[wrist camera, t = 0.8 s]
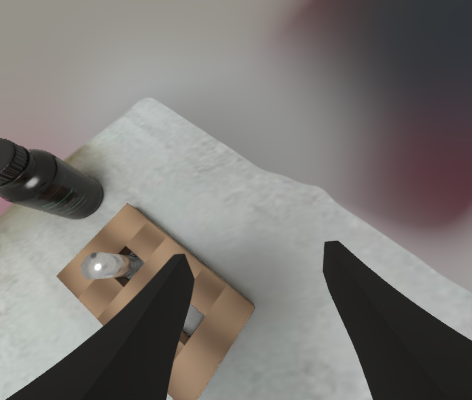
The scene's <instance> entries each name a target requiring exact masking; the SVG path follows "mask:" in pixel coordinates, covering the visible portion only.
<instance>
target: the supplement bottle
mask: <svg viewBox="0 0 472 400" xmlns="http://www.w3.org/2000/svg"><path fill="white" fill-rule="evenodd" d="M102 195H103V192H102V188H101V186H100V184H99V183H98V182H97V181H95V180H94V179H92V178H91V177H89V176H87V175H86V174H84V173H83V172H81V171H79V170H78V169H76V168H74V167H73V166H71V165H69V164H68V163H66V162H64V161H63V160H61V159H59V158H57V157H56V156H54V155H53V154H51V153H49V152H46V151H43V150H38V149H26V148H24V147H22V146H19V145H17V144H15V143H13V142H11V141H9V140H7V139H2V138H0V197H1V198H3V199H4V200H6V201H9V202H12V203H15V204H18V205H22V206H25V207H29V208H32V209H36V210H39V211H43V212H46V213H50V214H54V215H57V216H61V217H64V218H68V219H80V218H83V217H86V216H88V215H90V214H91V213H93V212H94V211H95V210H96V209H97V208H98V206H99V205H100V203H101V200H102Z"/></svg>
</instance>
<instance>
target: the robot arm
mask: <svg viewBox="0 0 472 400" xmlns="http://www.w3.org/2000/svg"><path fill="white" fill-rule="evenodd" d="M323 273H324V277H325V280H326V283H327V286H328V289H329V292H330V294H331V296H332V299H333V301H334V303H335V305H336V308H337V310H338V312H339V314H340V317H341V319H342V321H343V323H344V325H345V328H346V330H347V332H348V334H349V336H350V339H351V341H352V343H353V346H354V348H355V350H356V353H357V355H358V358H359V361H360V364H361V366H362V369H363V372H364V375H365V378H366V380H367V383H368V386H369V389H370V392H371V395H372V398H373V400H472V341H471V340H470V339H468V338H466V337H465V336H463V335H462V334H460V333H458V332H457V331H455V330H454V329H452V328H450V327H449V326H447V325H446V324H444V323H443V322H441V321H440V320H438V319H437V318H435V317H434V316H432V315H431V314H429V313H428V312H427V311H425V310H424V309H422V308H421V307H419V306H418V305H416V304H415V303H414V302H412V301H411V300H409V299H408V298H407V297H405V296H404V295H403V294H401V293H400V292H399V291H397V290H396V289H395V288H393V287H392V286H391V285H390V284H388V283H387V282H386V281H385V280H383V279H382V278H381V277H380V276H378V275H377V274H376V273H375V272H374V271H372V270H371V269H370V268H369V267H367V266H366V265H365V264H364V263H363V262H362V261H361V260H359V259H358V258H357V257H356V256H355V255H354V254H353V253H351V252H350V251H349V250H348V249H347V248H346V247H345V246H344V245H342V244H341V243H340V242H339V241H328V242H325V245H324V260H323ZM194 282H195V278H194V276H193V273H192V271H191V268H190V266H189V263H188V260H187V258H186V255H185V253H183V254H174V255H173V256H172V257H171V258H170V259H169V260H168V261H167V262H166V263H165V265H164V266H163V267H162V268H161V269H160V270H159V271H158V272H157V273H156V275H155V276H154V277H153V278H152V279H151V280H150V281H149V282H148V283H147V284H146V285H145V286H144V288H143V289H142V290H141V291H140V292H139V293H138V294H137V295H136V296H135V297H134V298H133V299H132V300H131V301H130V302H129V303H128V304H127V305H126V306H125V307H124V308H123V309H122V310H121V311H120V312H118V313H117V314H116V315H115V316H114V317H113V318H112V319H111V320H110V321H109V322H107V323H106V324H105V325H104V326H103V327H102V328H101V329H100V330H98V331H97V332H96V333H95V334H94V335H92V336H91V337H90V338H89V339H87V340H86V341H85V342H84V343H82V344H81V345H80V346H79V347H78V348H76V349H75V350H74V351H73V352H71V353H70V354H69V355H67V356H66V357H65V358H64V359H62V360H61V361H60V362H58V363H57V364H56V365H54V366H53V367H52V368H50V369H49V370H47V371H46V372H45V373H43V374H42V375H41V376H39V377H38V378H36V379H35V380H34V381H32V382H31V383H29V384H28V385H26V386H25V387H24V388H22V389H21V390H19V391H18V392H16V393H15V394H13V395H12V396H10V397H9V398H7V399H6V400H166V397H167V392H168V387H169V382H170V377H171V372H172V367H173V363H174V358H175V354H176V350H177V346H178V343H179V339H180V336H181V333H182V329H183V326H184V323H185V319H186V316H187V313H188V309H189V306H190V302H191V299H192V293H193V288H194Z"/></svg>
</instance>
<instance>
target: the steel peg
mask: <svg viewBox="0 0 472 400" xmlns="http://www.w3.org/2000/svg"><path fill="white" fill-rule="evenodd" d="M143 264H144V262H143V261H142V260H141V259H140V258H139V257H138V256H130V255H121V254H111V253H102V252H94V253H91V254H90V255H88V256H87V257H86V258H85V259H84V261H83V262H82V265H81V273H82V275H83V276H84V277H85V278H86V279H90V280H92V279H103V278H115V277H126V276H134V275H135V274H136V273H137V271H138V270H139V269H140V268H141V267H142V266H143Z"/></svg>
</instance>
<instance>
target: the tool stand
mask: <svg viewBox="0 0 472 400" xmlns="http://www.w3.org/2000/svg"><path fill="white" fill-rule="evenodd" d="M94 252H102V253H111V254H121V255H129V254H130V253H131V252H133V253H135V254H136V255H137V256H138V257H139V258H140V259H141V260H142V261H143V262H145V263H144V264H143V266H142V267H141V268H140V269H139V270H138V271H137V273H136V274H135V275H134V276H133V277H132V278H131V280H130V281H129V280H128V279H127V278H126V277H115V278H103V279H92V280H90V279H86V278H85V277H84V276H83V275H82V273H81V265H82V262H83V261H84V259H85V258H86V257H87V256H88V255H90V254H91V253H94ZM183 253H185V255H186V258H187V260H188V263H189V266H190V268H191V271H192V273H193V276H194V278H195V282H194V288H193V293H192V299H191V302H190V303H191V304H192V305H193V306H194V307H195V308H196V309H197V310H199V311H200V312H201V313H202V314H203V315H204V316H205V317H204V318H203V320H202V321H201V323H200V324H199V326H198V327H197V328H196V330H195V331H194V333H193V334H192V336H191V337H190V338H189V337H188V336H187V335H186V334H185V333H184V332H183V331H182V333H181V336H180V339H179V343H178V346H177V350H176V354H175V358H174V363H173V367H172V372H171V377H170V382H169V387H168V392H167V393H168V394H169V395H170V396H171V397H172V398H173V399H174V400H197V399H198V398H199V396H200V395H201V393H202V391H203V390H204V388H205V387H206V385H207V384H208V382H209V380H210V379H211V377H212V376H213V374H214V372H215V371H216V369H217V368H218V366H219V365H220V363H221V361H222V360H223V358H224V357H225V355H226V353H227V352H228V350H229V349H230V347H231V346H232V344H233V342H234V341H235V339H236V338H237V336H238V334H239V333H240V331H241V330H242V328H243V327H244V325H245V323H246V322H247V320H248V319H249V317H250V315H251V314H252V312H253V311H254V309H255V307H254V304H253V303H251V302H250V301H249V300H248V299H246V298H245V297H244V296H243V295H242V294H240V293H239V292H238V291H237V290H235V289H234V288H233V287H232V286H231V285H229V284H228V283H227V282H226V281H224V280H223V279H222V278H221V277H220V276H218V275H217V274H216V273H215V272H214V271H212V270H211V269H210V268H209V267H207V266H206V265H205V264H204V263H203V262H201V261H200V260H199V259H198V258H196V257H195V256H194V255H193V254H192V253H190V252H189V251H188V250H187V249H185V248H184V247H183V246H182V245H181V244H179V243H178V242H177V241H176V240H174V239H173V238H172V237H171V236H170V235H168V234H167V233H166V232H165V231H163V230H162V229H161V228H160V227H159V226H157V225H156V224H155V223H154V222H152V221H151V220H150V219H149V218H148V217H146V216H145V215H144V214H143V213H141V212H140V211H139V210H138V209H137V208H135V207H133V206H132V205H130V204H128V203H127V204H126V205H125V206H124V207H123V208H122V209H121V210H120V211H119V212H118V213H117V214H116V215H115V216H114V217H113V218H112V219H111V220H110V222H109V223H108V224H107V225H106V226H105V227H104V228H103V229H102V230H101V231H100V232H99V233H98V234H97V235H96V236H95V237H94V238H93V239H92V240H91V241H90V242H89V243H88V244H87V245H86V246H85V247H84V248H83V249H82V250H81V251H80V252H79V253H78V254H77V255H76V256H75V257H74V259H73V260H72V261H71V262H70V263H69V264H68V265H67V266H66V267H65V268H64V269H63V270H62V271H61V272H60V273H59V274H58V275H57V277H58V278H59V279H60V281H61V282H62V283H63V284H64V285H65V286H66V287H67V288H68V289H69V290H70V291H71V292H72V293H73V294H74V295H75V296H76V297H77V298H78V299H79V300H80V302H81V303H82V304H83V305H84V306H85V307H86V308H87V309H88V310H89V311H90V312H91V313H92V314H93V315H94V316H95V317H96V318H97V319H98V320H99V321H100V323H101V324H102V325H103V326H104V325H105V324H106V323H107V322H109V321H110V320H111V319H112V318H113V317H114V316H115V315H116V314H117V313H118V312H120V311H121V310H122V309H123V308H124V307H125V306H126V305H127V304H128V303H129V302H130V301H131V300H132V299H133V298H134V297H135V296H136V295H137V294H138V293H139V292H140V291H141V290H142V289H143V288H144V286H145V285H146V284H147V283H148V282H149V281H150V280H151V279H152V278H153V277H154V276H155V275H156V273H157V272H158V271H159V270H160V269H161V268H162V267H163V266H164V265H165V263H166V262H167V261H168V260H169V259H170V258H171V257H172V256H173V255H174V254H183Z"/></svg>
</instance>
